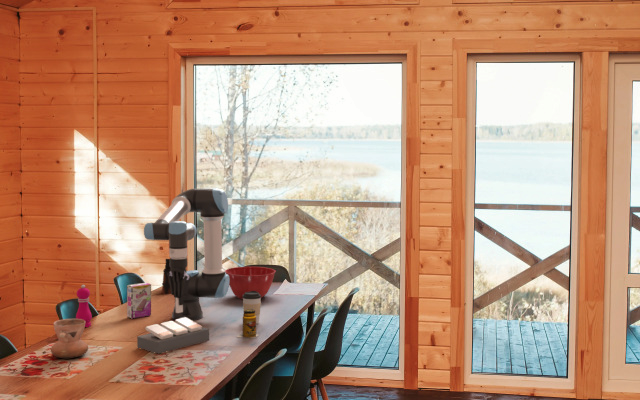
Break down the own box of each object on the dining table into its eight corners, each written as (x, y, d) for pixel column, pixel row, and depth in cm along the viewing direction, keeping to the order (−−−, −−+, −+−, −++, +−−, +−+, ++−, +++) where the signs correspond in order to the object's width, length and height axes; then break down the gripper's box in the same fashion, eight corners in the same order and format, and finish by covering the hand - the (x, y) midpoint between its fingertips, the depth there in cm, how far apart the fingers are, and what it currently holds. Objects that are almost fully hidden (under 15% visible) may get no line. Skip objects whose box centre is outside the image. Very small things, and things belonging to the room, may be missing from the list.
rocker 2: (159, 328, 315) (160, 323, 315) (171, 325, 320) (172, 320, 320) (176, 337, 309) (176, 332, 308) (187, 334, 314) (188, 329, 313)
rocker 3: (174, 324, 322) (175, 319, 321) (185, 321, 327) (186, 316, 326) (190, 333, 315) (191, 328, 315) (201, 331, 320) (202, 326, 319)
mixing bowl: (285, 296, 417) (285, 269, 416) (254, 305, 393) (254, 276, 392) (246, 290, 432) (246, 264, 431) (214, 298, 408) (214, 271, 407)
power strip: (137, 348, 308) (137, 335, 308) (193, 333, 332) (193, 321, 332) (158, 354, 300) (158, 340, 299) (214, 338, 324) (214, 326, 323)
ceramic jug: (79, 362, 288) (79, 326, 287) (43, 361, 289) (43, 325, 288) (95, 350, 306) (95, 317, 305) (61, 349, 307) (61, 316, 306)
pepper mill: (95, 325, 347) (94, 284, 345) (84, 328, 340) (83, 286, 339) (83, 323, 350) (82, 282, 348) (72, 327, 343) (71, 285, 342)
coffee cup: (258, 325, 348) (258, 294, 347) (240, 324, 350) (239, 293, 349) (263, 320, 357) (263, 290, 356) (245, 320, 359) (245, 289, 358)
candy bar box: (132, 319, 359) (131, 286, 358) (126, 317, 363) (126, 285, 362) (151, 315, 367) (151, 283, 366) (146, 314, 371) (146, 282, 370)
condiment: (253, 338, 324) (253, 312, 323) (235, 337, 327) (235, 310, 326) (259, 334, 331) (259, 308, 330) (242, 333, 334) (242, 307, 333)
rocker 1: (144, 331, 309) (145, 326, 309) (156, 328, 314) (157, 323, 314) (161, 341, 303) (161, 336, 302) (173, 338, 308) (173, 333, 307)
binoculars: (173, 294, 421) (172, 259, 420) (159, 293, 422) (159, 259, 421) (183, 288, 439) (183, 255, 438) (170, 287, 440) (170, 254, 439)
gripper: (161, 257, 311) (162, 311, 313) (181, 260, 303) (182, 316, 305) (175, 255, 317) (176, 308, 319) (195, 258, 309) (196, 312, 311)
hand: (179, 312), depth 312 cm, fingers closed
